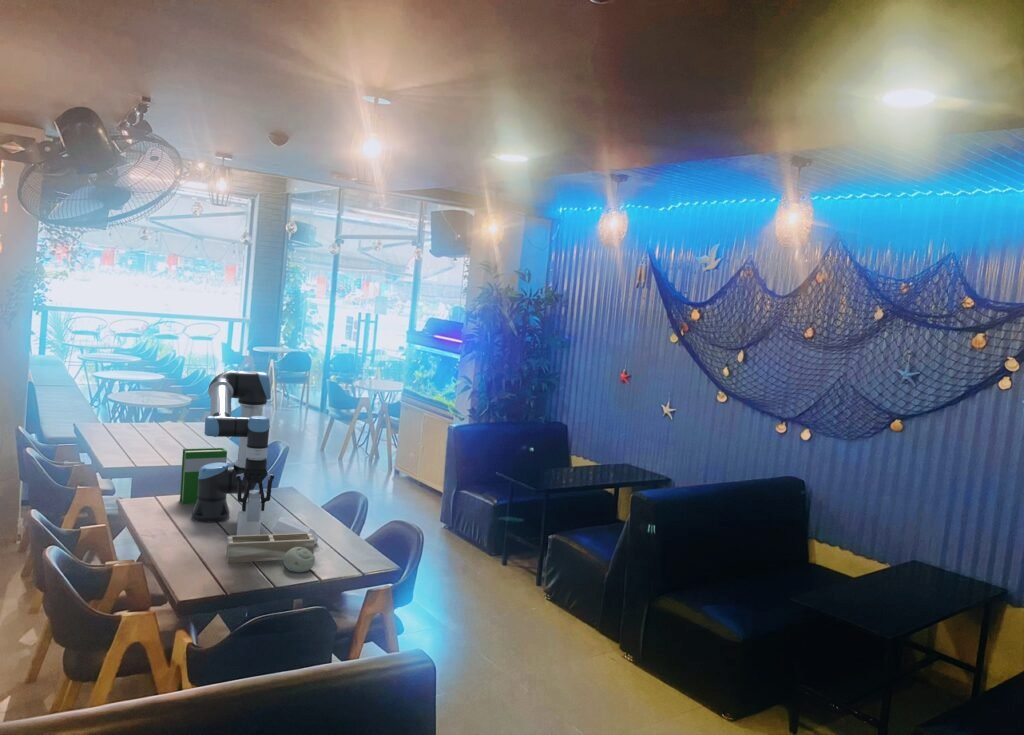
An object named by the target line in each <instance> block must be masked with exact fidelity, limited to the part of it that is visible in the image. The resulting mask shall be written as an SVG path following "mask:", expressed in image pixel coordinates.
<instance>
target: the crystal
mask: <svg viewBox="0 0 1024 735" xmlns="http://www.w3.org/2000/svg"><path fill="white" fill-rule="evenodd" d="M308 532H311V534H312V536H313V538H314V546H315V545H316V544H317V543H318V539H319V537H318V534H317V532H316V531H315V530H313V529H312V528H311V527H309V526H307V525H303V524H301V523H299V522H296V521H294V520H291V519H289V518H287V517H284V516H280V517H279V518H278V519H277V521H276V523H275V524H274V526H273V528H272V534H284V533H308Z"/></svg>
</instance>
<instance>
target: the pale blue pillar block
mask: <svg viewBox="0 0 1024 735" xmlns="http://www.w3.org/2000/svg"><path fill="white" fill-rule="evenodd" d="M260 501H261V493H260V490H250V491H249V495H248V498H247V502H248V515H247V522H259V508H260Z"/></svg>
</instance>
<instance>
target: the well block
mask: <svg viewBox="0 0 1024 735" xmlns="http://www.w3.org/2000/svg"><path fill="white" fill-rule="evenodd" d="M226 543H227V544H226V560H227V563H231V564H232V563H233V564H234V563H248V562H249V563H251V562H266V561H267V562H268V561H269V562H270V561H282V560H284V556H285V554H286V553H287V551H289V550H290V549H292V548H294V547H304V548H306V549H308V550H309V551H310V552H311V553H312V554H313V555H314V553H315V545H314V538H313V536H312V534H311V532H308V533H284V534H274V533H267V534H266V533H264V534H263V533H262V534H261V533H260V534H259V535H237V534H236V535H227V542H226Z"/></svg>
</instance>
